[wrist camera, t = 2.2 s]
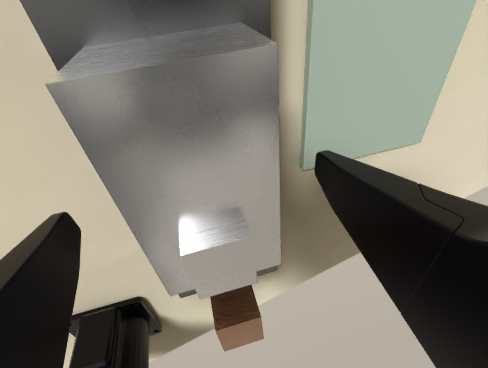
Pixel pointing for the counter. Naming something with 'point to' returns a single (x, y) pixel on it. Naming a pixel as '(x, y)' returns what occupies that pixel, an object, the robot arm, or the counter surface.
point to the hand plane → (142, 26)
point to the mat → (375, 72)
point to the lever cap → (185, 148)
